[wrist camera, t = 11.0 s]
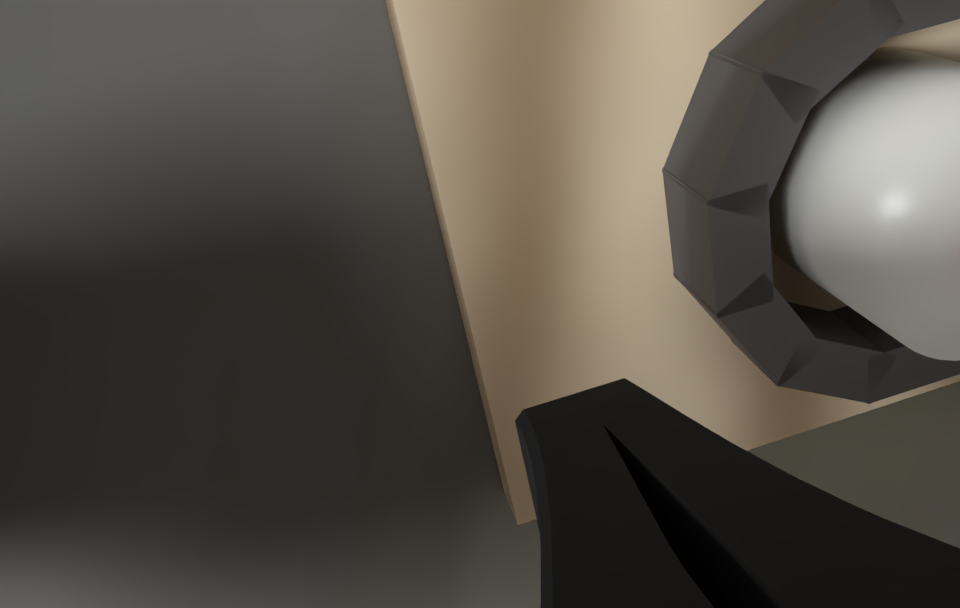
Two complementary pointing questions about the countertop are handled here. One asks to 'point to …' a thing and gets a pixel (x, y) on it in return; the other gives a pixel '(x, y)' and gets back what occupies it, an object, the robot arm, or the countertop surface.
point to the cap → (881, 198)
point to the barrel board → (647, 204)
